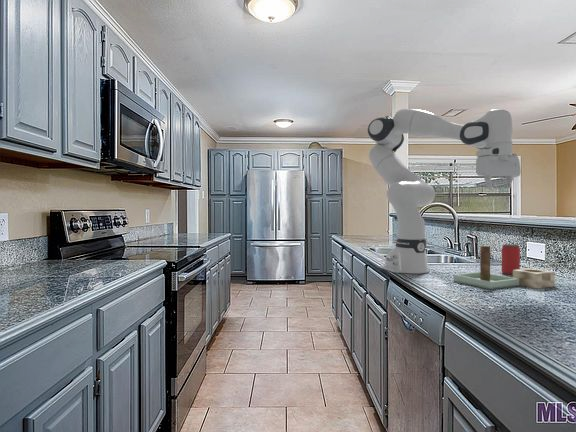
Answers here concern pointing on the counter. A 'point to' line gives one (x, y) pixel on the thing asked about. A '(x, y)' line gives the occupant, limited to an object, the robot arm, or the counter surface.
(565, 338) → the counter surface
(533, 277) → the socket block
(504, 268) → the beer can
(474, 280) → the tray
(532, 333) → the counter surface
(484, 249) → the walnut peg
